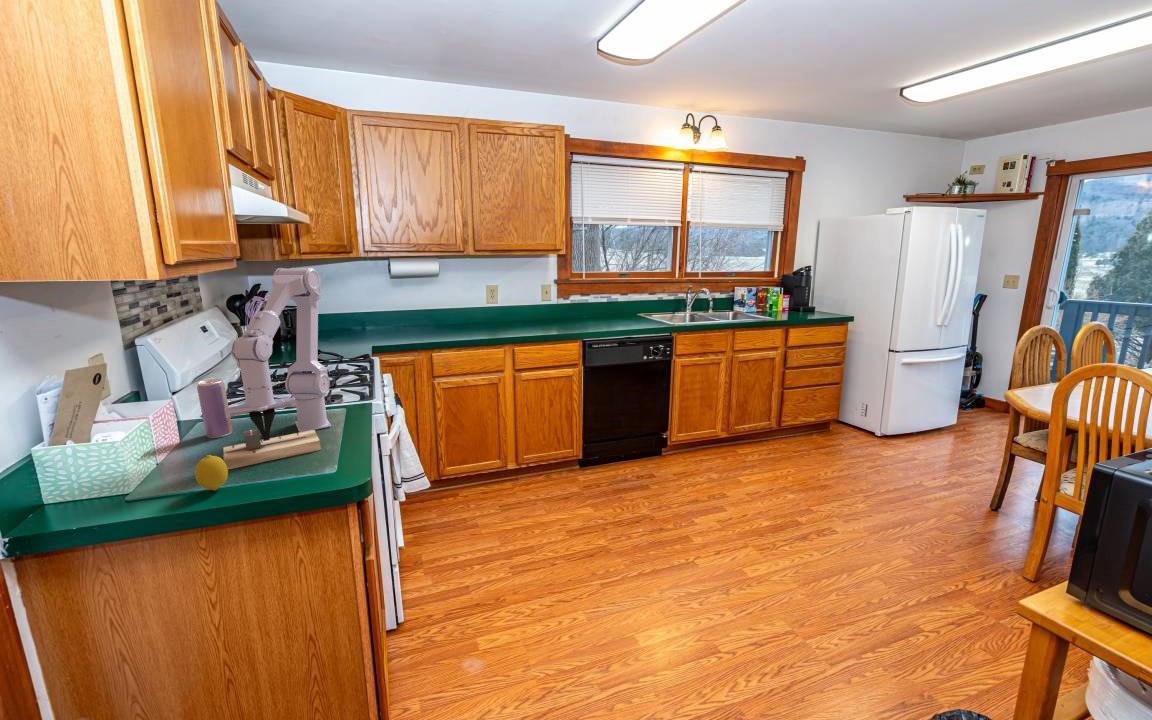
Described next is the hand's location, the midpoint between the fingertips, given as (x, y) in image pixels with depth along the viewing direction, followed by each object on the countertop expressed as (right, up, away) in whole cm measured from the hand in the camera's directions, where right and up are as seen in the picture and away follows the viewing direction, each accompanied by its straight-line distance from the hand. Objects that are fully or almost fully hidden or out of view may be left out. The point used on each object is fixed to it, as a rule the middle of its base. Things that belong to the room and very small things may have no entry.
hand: (266, 439), depth 126 cm
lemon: (-1, -8, -17) cm, 19 cm away
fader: (-2, -1, -1) cm, 3 cm away
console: (+1, -4, +2) cm, 4 cm away
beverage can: (-21, -1, +14) cm, 25 cm away
